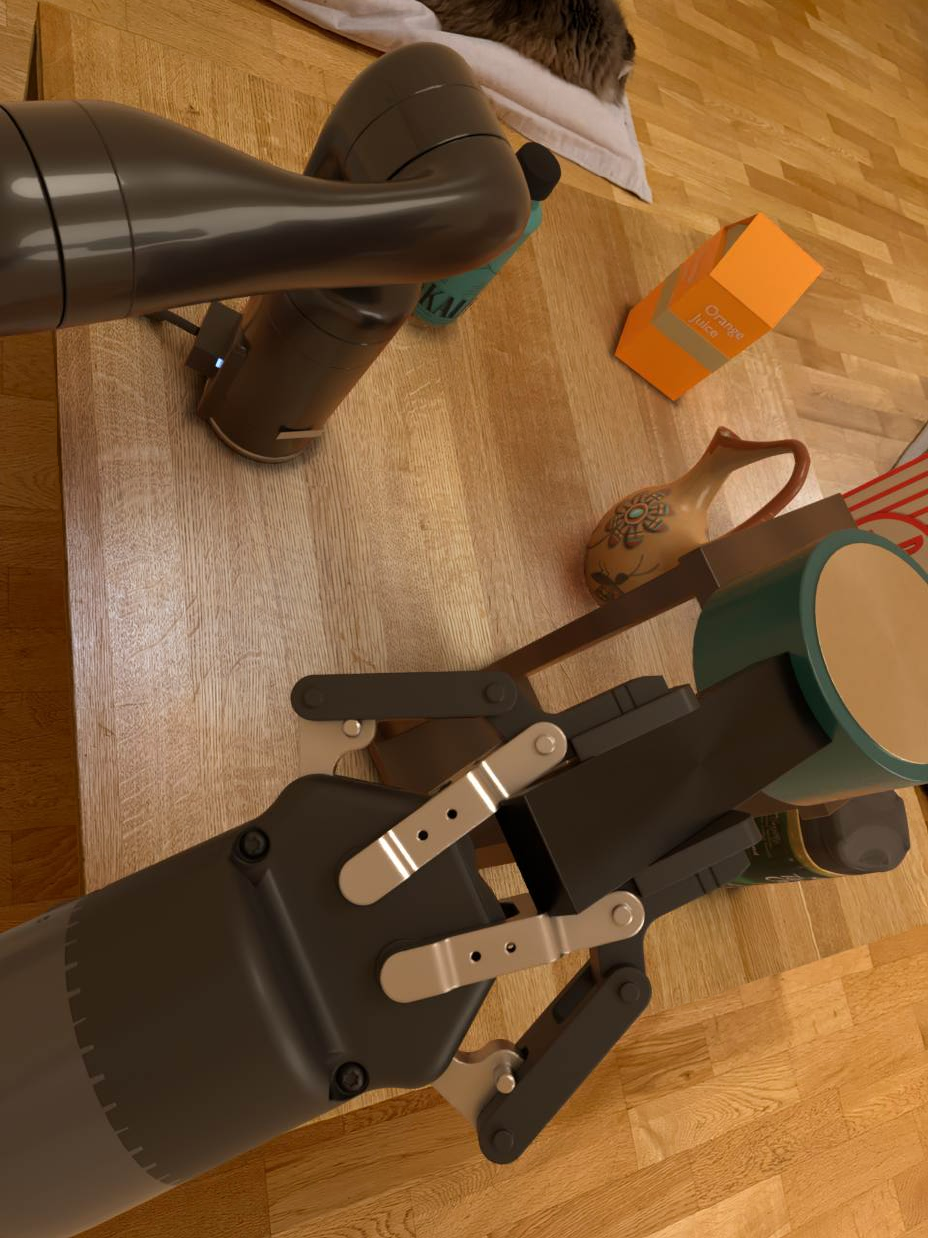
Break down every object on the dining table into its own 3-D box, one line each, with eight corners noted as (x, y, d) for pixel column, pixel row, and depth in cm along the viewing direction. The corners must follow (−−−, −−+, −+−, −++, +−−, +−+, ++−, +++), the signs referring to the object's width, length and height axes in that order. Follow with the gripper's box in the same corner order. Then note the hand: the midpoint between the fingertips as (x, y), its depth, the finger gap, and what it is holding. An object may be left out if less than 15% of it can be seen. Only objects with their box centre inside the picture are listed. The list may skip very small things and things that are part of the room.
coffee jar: (667, 888, 82) (843, 868, 67) (660, 797, 85) (828, 758, 70) (747, 893, 86) (929, 875, 71) (738, 807, 89) (911, 771, 74)
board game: (715, 555, 99) (950, 434, 77) (756, 562, 102) (994, 448, 80) (749, 747, 93) (1017, 674, 71) (792, 748, 96) (1062, 679, 74)
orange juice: (629, 309, 105) (765, 186, 89) (687, 356, 108) (829, 245, 91) (613, 355, 101) (752, 236, 85) (674, 402, 104) (820, 295, 88)
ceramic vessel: (627, 670, 88) (850, 577, 67) (549, 633, 84) (759, 523, 64) (646, 526, 95) (852, 403, 75) (575, 486, 92) (770, 347, 72)
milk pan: (528, 1022, 26) (649, 1029, 22) (397, 725, 27) (491, 679, 23) (891, 752, 38) (1013, 725, 34) (793, 553, 39) (900, 503, 35)
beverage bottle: (416, 266, 90) (532, 110, 74) (464, 317, 91) (589, 175, 75) (378, 297, 87) (492, 140, 70) (429, 350, 88) (553, 208, 72)
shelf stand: (428, 886, 70) (829, 816, 41) (359, 727, 72) (699, 546, 42) (575, 802, 80) (990, 694, 50) (512, 663, 81) (879, 476, 51)
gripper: (201, 1406, 20) (903, 1041, 22) (-38, 791, 21) (641, 496, 23) (258, 1225, 27) (777, 965, 29) (78, 778, 29) (585, 556, 30)
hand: (714, 759), depth 26 cm, fingers closed on milk pan, 3 cm apart
